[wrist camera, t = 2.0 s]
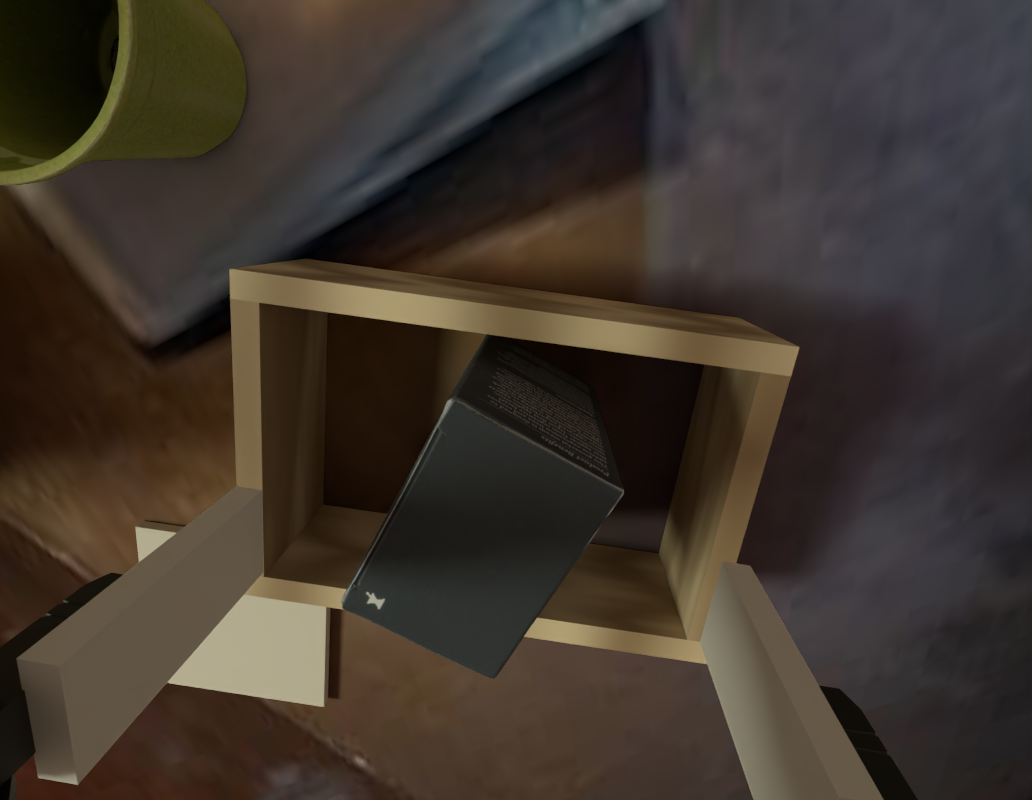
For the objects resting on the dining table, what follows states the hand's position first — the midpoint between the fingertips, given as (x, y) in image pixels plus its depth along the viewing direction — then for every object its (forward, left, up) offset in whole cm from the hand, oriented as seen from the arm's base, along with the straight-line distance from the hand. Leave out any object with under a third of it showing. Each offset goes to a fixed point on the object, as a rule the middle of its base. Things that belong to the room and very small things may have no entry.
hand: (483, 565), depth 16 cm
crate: (0, 0, -11) cm, 11 cm away
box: (0, 0, -11) cm, 11 cm away
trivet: (-13, -13, -11) cm, 21 cm away
